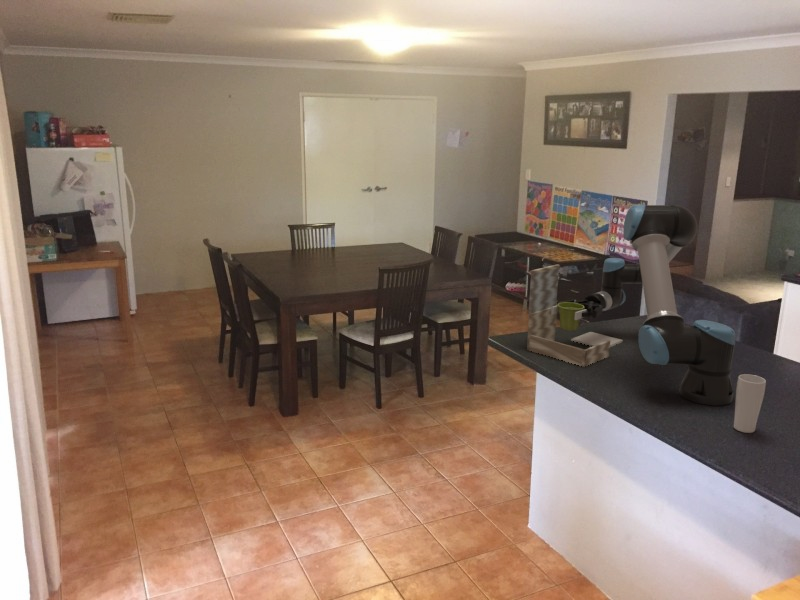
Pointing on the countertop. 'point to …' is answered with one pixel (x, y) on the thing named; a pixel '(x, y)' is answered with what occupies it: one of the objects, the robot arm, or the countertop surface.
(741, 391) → the drinking glass
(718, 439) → the countertop surface
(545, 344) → the zigzag patterned stand
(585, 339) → the stone pad
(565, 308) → the plant pot
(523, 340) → the countertop surface
